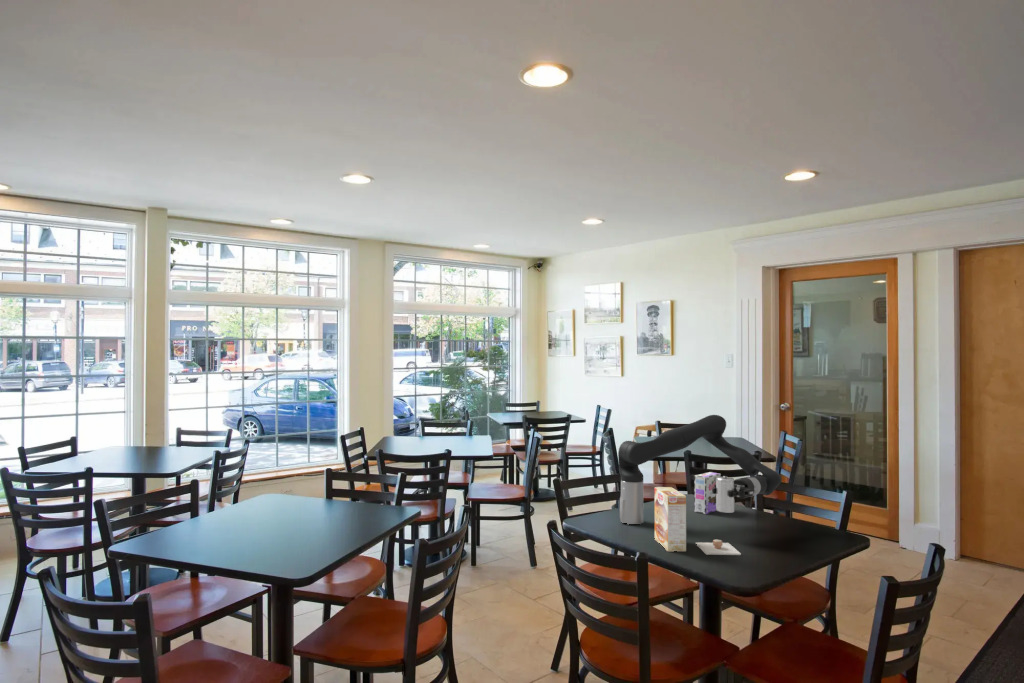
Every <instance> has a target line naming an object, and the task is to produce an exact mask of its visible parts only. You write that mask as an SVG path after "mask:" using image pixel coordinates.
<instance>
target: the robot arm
mask: <svg viewBox="0 0 1024 683" xmlns="http://www.w3.org/2000/svg"><path fill="white" fill-rule="evenodd" d="M726 428H727V420H726V418H724V417H723V416H721V415H719V414H709V415H707V416H705V417H703V418H700V419H698V420H696V421H693V422H691V423H687V424H685V425H681V426H679V427H675V428H671V429H668V430H666V431H663V432H662V433H660V434H659V435H658V436H657V437H655V438H654V439H651V440H648V441H643V442H638V441H637V442H636V441H632V440H625V441H623V442H622V443H621V444H620V446H619V448H618V451H617V452H618V456H617V458H618V459H617V461H618V472H619V476H620V497H619V521H620V523H621V522H622V523H627V524H626V525H629V524H640V523H643V524H644V474H643V473H642V471H641V470H640V468H639V465H643V464H645V463H647V462H649V461H652V460H653V459H655V458H658V457H661V456H665V455H667V454H671V453H674V452H678V451H681V450H684V449H686V448H688V447H689V446H691V445H692V444H694V443H695V442H697V441H698V439H701V438H704V440H705V441H707V442H708V443H710V445H712V446H714V447H715V448H716V449H717V450H719V451H720V452H722V453H723V454H725V455H726V456H727V457H729V458H730V459H731V460H732V461H734V463H735V464H737V466H739V467H740V468H741V469H742V470H743V471H744V472H745V473H746V474H747V475H748V476H744V477H740V478H739V477H738V478H736V479H734V490H732V491H729V497H734V498H735V497H736V498H739V499H746V498H750V497H751V498H752V497H754V496H756V495H763V496H769V495H772V494H773V492H775V490H776V489H777V488H778V487H779V486H780V485H781V483H782V477H781V475H780V474H779V473H778V472H777V471H775V470H774V469H772V468H770V467H768V466H767V465H765V464H763V463H762V462H760V461H759V460H758V459H757V458H756V457H755V456H754V455H753V454H752V453H751V452H750V451H748V450H746V449H745V448H742V447H739V446H736V445H733V444H731V443H729V442H728V441H727V440H726V439H725V438H724V437H723V435H724V433H725V431H726ZM758 473H760V474H762V475H761V476H760V475H757V474H758ZM712 492H713V494H716V485H714V488H712ZM622 523H621V524H622ZM640 525H641V524H640Z"/></svg>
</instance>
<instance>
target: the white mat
mask: <svg viewBox="0 0 1024 683" xmlns="http://www.w3.org/2000/svg"><path fill="white" fill-rule="evenodd" d="M696 544H697V545H696ZM695 545H696V546H697V547H698V548H699V549H700V550H701V551H702V552H703V553H704V554H705V555H707V556H708V555H715V556H716V555H718V556H723V555H724V556H741V555H742V553H741V552H740V551H739V550H737V549H736V548H735V547H734V546H732V544H730V543H729V542H722V546H721V549H716V548H714V545H713V542H697V541H696V542H695Z"/></svg>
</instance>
